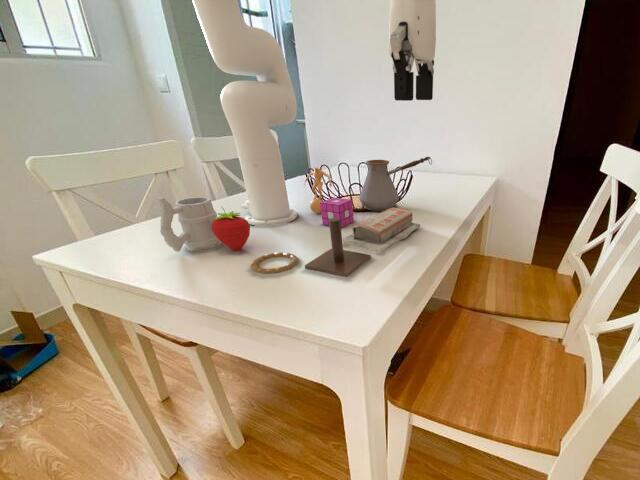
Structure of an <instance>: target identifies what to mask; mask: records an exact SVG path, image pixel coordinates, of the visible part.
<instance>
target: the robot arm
mask: <svg viewBox="0 0 640 480" xmlns="http://www.w3.org/2000/svg"><path fill="white" fill-rule="evenodd" d="M191 1H192V4H193V7H194V9H195V10H194V11H195V13H196V17H197V19H198V21H199V24H200V27H201V29H202V32H203V35H204V38H205V40H206V44H207V46H208V49H209V52H210V54H211V57H212V60H213V61H214V63H215V65H216V66H217V68H218V69H219V70H220V71H222V72H224V73H226V74H230V75H237V76H249V77H256V79H257V80H244V79H243V80H235V81H230V82H229V83H227V84H226V85H225V86H224V87H223V88H222V90H221V93H220V103H221V108H222V112H223V114H224V116H225V118H226V120H227V123H228V125H229V127H230V130H231V134H232V136H233V140H234V144H235V148H236V152H237V157H238V161H239V165H240V169H241V173H242V174H241V175H242V178H243V184H244V187H245V191H246V197H247V199H245V200H244V203H241V205H240V206H241V208H242V209H243V210H247V211H248V214H246V216H245V220H247V221H248V223H249V225H250V226H267V225H268V226H269V225H278V224H284V223H291V222H293V221H295V219H297V217H298V213H297V211H296V210H295V209H292V208H291V207H290V203H289V197H288V191H287V190H288V189H287V185H286V179H285V172H284V166H283V160H282V155H281V150H280V146H279V143H278V141H277V139H276V137H275V136H274V134H273V132H272V131H271V130H270V127H279V126H287V125H289V124H291V123H293V122H294V120H295V119H296V117H297V114H298V113H297V112H298V103H297V98H296V93H295V90H294V87H293V83H292V79H291V76H290V72H289V69H288V66H287V62H286V58H285V55H284V52H283V49H282V47H281V45H280V43H279V41H278V40H277V39H276V38H275V37H274V35H273V34H272V33H270V32H268V31H267V30H265V29H263V28H259V27H255V26H249V24H247V23H246V21H245V19H244V17H243V15H242V11H241V9H240V5H239V1H238V0H191ZM436 4H437V3H436V0H389V19H388V21H389V23H388V53H389V56H390V57H391V59H392V62H393V63H392V71H393V91H394V93H393V94H394V101H402V102H403V101H405V102H406V101H408V102H409V101H413V100H414V89H415V100H417V101H432V100H433V98H434V97H433V96H434V75H435V68H434V65H435V60H434V59H435V55H436V46H437V45H436V44H437V43H436V41H437V10H436V9H437V7H436V6H437V5H436ZM414 64H415V67H416V71H417V75H415V78H414V74H415V73H414V71H412V69H413V65H414ZM414 79H415V83H414ZM414 84H415V88H414Z"/></svg>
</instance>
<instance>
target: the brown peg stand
mask: <svg viewBox="0 0 640 480" xmlns="http://www.w3.org/2000/svg"><path fill="white" fill-rule="evenodd" d="M328 227H329V235H330V244H331V248H330V249H327V250H326V251H325V252H324V253H322V254H320V255H319V256H317V257H316V258H314V259H313V260H311V261H309V262H307V263H306V264H304V269H305V270H310V271H315V272H319V273H325V274H329V275H333V276H338V277H342V278H347V277H349V276H350V275H352V274H353V273H354V272H355V271H357V270H358V269H359V268H361V266H363V265H364V264H365V263H367V262H368V261H369V260H370V259H371V258H372V255H371V254H368V253H361V252H357V251H351V250H346V249H344V246H343V244H344V243H343V236H342V228H341V224H340V219H339V218H331V219H329V226H328Z"/></svg>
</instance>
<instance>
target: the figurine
mask: <svg viewBox="0 0 640 480" xmlns="http://www.w3.org/2000/svg"><path fill="white" fill-rule="evenodd" d="M311 176H314V179H315V180H313V183H312V188H311V190H312V191H313V193H314V197H313V200H311V201H310V204H309V208H310V210H311V212H312V213H314V214H321V206H320V203H321V202H323V201H324V200H322V193H323V192H322V189H323V185H324V183H323V181H322V178H323V176H325V177H327V179H328V182H329V185H328V186H329V187H330V188H332V186H333V184H332V180H331V176H330V175H329V174H327V173H326V172H325V171H323V169H321V168H318V166H317V167H316V166H315V167H314V171H312V172H310V173H309V174H308V175H307V177H306V178H305V180H304V182H303V186H305V185H306V182H307V181H308V180H309V178H310V177H311ZM316 189H317V190H318V192H317V190H316ZM318 194H319V195H318ZM317 195H318V197H317Z"/></svg>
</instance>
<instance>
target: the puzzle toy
mask: <svg viewBox="0 0 640 480" xmlns="http://www.w3.org/2000/svg"><path fill="white" fill-rule="evenodd" d="M322 201H323V202H321V203H320V206H321V213H320V214H321V221H322V222H321V223H322V225H323V226H328V227H330V226H329V219H331V218H339V219H340V224H341V229H342V228H344V227H346V226H348V225H350V224H351V223H354V221H355V219H354V208H353V207H354V206H353V199H348V198H341V197H335V196H334V197H331V198H328V199H326V200H322Z"/></svg>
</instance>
